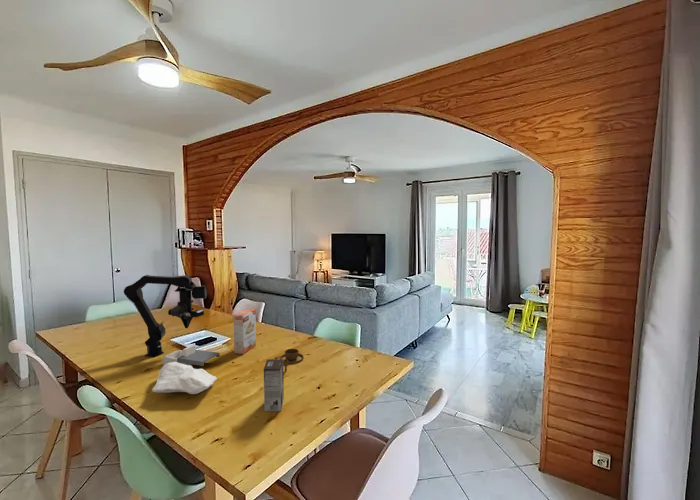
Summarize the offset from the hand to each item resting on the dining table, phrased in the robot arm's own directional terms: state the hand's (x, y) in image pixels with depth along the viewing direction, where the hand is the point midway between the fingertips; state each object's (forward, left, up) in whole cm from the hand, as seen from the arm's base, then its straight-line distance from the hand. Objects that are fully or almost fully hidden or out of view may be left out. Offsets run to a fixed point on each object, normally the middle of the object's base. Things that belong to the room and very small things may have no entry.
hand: (186, 328), depth 181 cm
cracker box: (+28, +12, -13) cm, 33 cm away
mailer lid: (+18, -12, -10) cm, 24 cm away
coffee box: (+72, -34, -13) cm, 81 cm away
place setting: (+57, +3, -14) cm, 59 cm away
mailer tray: (+8, -12, -13) cm, 19 cm away
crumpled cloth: (+29, -34, -13) cm, 47 cm away
